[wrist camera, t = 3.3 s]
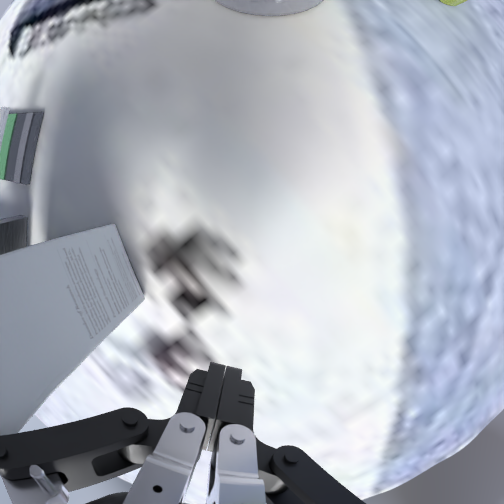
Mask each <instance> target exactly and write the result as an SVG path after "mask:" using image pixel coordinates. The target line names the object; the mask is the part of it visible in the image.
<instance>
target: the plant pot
mask: <svg viewBox="0 0 504 504" xmlns="http://www.w3.org/2000/svg"><path fill="white" fill-rule="evenodd" d="M440 1H441V2H442V3H444V4H447V5H451V6H457V5H459V4H461V3H463V2H465V1H467V0H440Z"/></svg>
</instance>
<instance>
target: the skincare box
mask: <svg viewBox="0 0 504 504" xmlns="http://www.w3.org/2000/svg"><path fill="white" fill-rule="evenodd" d="M144 299H145V298H144V295H143V293H142V290H141V288H140V286H139V283H138V281H137V279H136V276H135V274H134V271H133V269H132V266H131V264H130V262H129V259H128V257H127V254H126V251H125V249H124V246H123V243H122V241H121V238H120V235H119V233H118V230H117V227H116V225H115V224H114V223H113V224H109V225H106V226H102V227H98V228H94V229H90V230H86V231H82V232H78V233H74V234H70V235H67V236H63V237H59V238H55V239H52V240H48V241H45V242H42V243H38V244H35V245H31V246H28V247H25V248H21V249H18V250H15V251H12V252H9V253H6V254H2V255H0V436H1V435H9V434H15V433H18V432H19V431H20V430H21V429H22V427H23V426H24V425H25V424H26V423H27V422H28V421H29V419H30V418H31V417H32V416H33V415H34V414H35V412H36V411H37V410H38V409H39V408H40V406H41V405H42V404H43V403H44V402H45V401H46V399H47V398H48V397H49V396H50V395H51V394H52V393H53V392H54V391H55V390H56V389H57V388H58V387H59V386H60V384H61V383H62V382H63V381H64V380H65V379H66V378H67V377H68V376H70V374H71V373H72V372H73V371H74V370H75V369H76V368H77V367H78V366H79V365H80V364H81V363H82V362H83V361H84V360H85V359H86V358H87V357H88V356H89V355H90V354H91V353H92V352H93V351H94V349H95V348H96V347H97V346H98V345H99V344H100V343H101V342H102V341H103V340H104V339H105V338H106V337H107V336H108V335H109V334H110V333H111V332H112V331H113V330H114V329H115V328H116V327H117V326H118V325H119V324H120V323H121V322H122V321H123V320H124V319H125V318H126V317H127V316H128V315H130V314H131V313H132V312H133V311H134V310H135V309H136V308H137V307H138V306H139V305H140V304H141V303H142V302H143V301H144Z"/></svg>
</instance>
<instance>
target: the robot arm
mask: <svg viewBox="0 0 504 504" xmlns="http://www.w3.org/2000/svg"><path fill="white" fill-rule="evenodd" d="M215 1H216V2H218V3H220V4H221V5H223V6H225V7H227V8H230V9H233V10H235V11H238V12H243V13H248V14H253V15H264V16H279V15H288V14H295V13H299V12H302V11H306V10H308V9H310V8H313V7H315V6H317V5H318V4H319V3H320V2H322V1H323V0H215ZM225 367H226V366H225V365H221V364H217V363H214V362H211V363H210V366H209V370H208V372H207V371H203V370H200V369H196V370H195V371H194V372H193V373H191V374H190V377H189V380H188V383H187V385H186V388H185V390H184V393H183V396H182V399H181V401H180V404H179V407H178V410H177V412H176V413H175V415H173V416H172V417H171V418H168V419H165V420H153V419H147V417H146V416H145V414H144V413H142V412H141V411H139V410H137V409H134V408H121V409H118V410H114V411H111V412H108V413H104V414H101V415H97V416H94V417H90V418H86V419H83V420H79V421H75V422H71V423H67V424H62V425H58V426H53V427H49V428H44V429H39V430H33V431H28V432H22V433H15V434H9V435H1V436H0V476H1V477H2V479H3V482H4V484H5V487H6V489H7V492H8V494H9V497H10V499H11V501H12V503H13V504H67V502H68V500H69V492H70V491H74V490H78V489H81V488H84V487H88V486H91V485H94V484H97V483H100V482H103V481H106V480H109V479H112V478H114V477H117V476H120V475H123V474H125V473H128V472H130V471H133V470H135V469H138V468H140V467H141V469H140V471H139V473H138V475H137V477H136V479H135V481H134V483H133V485H132V487H131V489H130V491H129V492H121V493H115V494H111V495H108V496H105V497H102V498H100V499H97V500H94V501H91V502H89V503H86V504H183V502H184V499H185V496H186V493H187V490H188V487H189V484H190V481H191V478H192V475H193V472H194V469H195V467H196V464H197V462H198V460H199V458H200V455H201V451H202V449H203V450H206V448H207V445H208V441H209V438H210V441H209V446H208V450H207V451H212V458H211V461H210V464H209V473H208V486H207V498H206V504H366V503H364V502H363V501H362V500H360V499H359V498H358V497H357V496H355V495H354V494H353V493H351V492H350V491H349V490H348V489H346V488H345V487H344V486H343V485H341V484H340V483H339V482H338V481H337V480H335V479H334V478H333V477H332V476H331V475H330V474H328V473H327V472H326V471H325V470H324V469H323V468H321V467H320V466H319V465H318V464H317V463H316V462H315V461H314V460H312V459H311V458H310V457H309V456H308V455H307V454H306V453H305V452H304V451H303V450H301V449H300V448H297V447H295V446H289V445H287V446H282V447H279V448H278V449H275V448H273V447H270V446H268V445H266V444H264V443H262V442H260V441H259V440H258V439H257V438H256V436H255V435H254V432H253V416H254V394H255V389H254V387H253V385H252V383H251V382H249V381H245V380H241V375H242V369H238V368H234V367H230V366H227V367H226V371H225ZM224 372H225V374H224ZM223 377H224V378H223ZM210 434H211V436H210Z"/></svg>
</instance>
